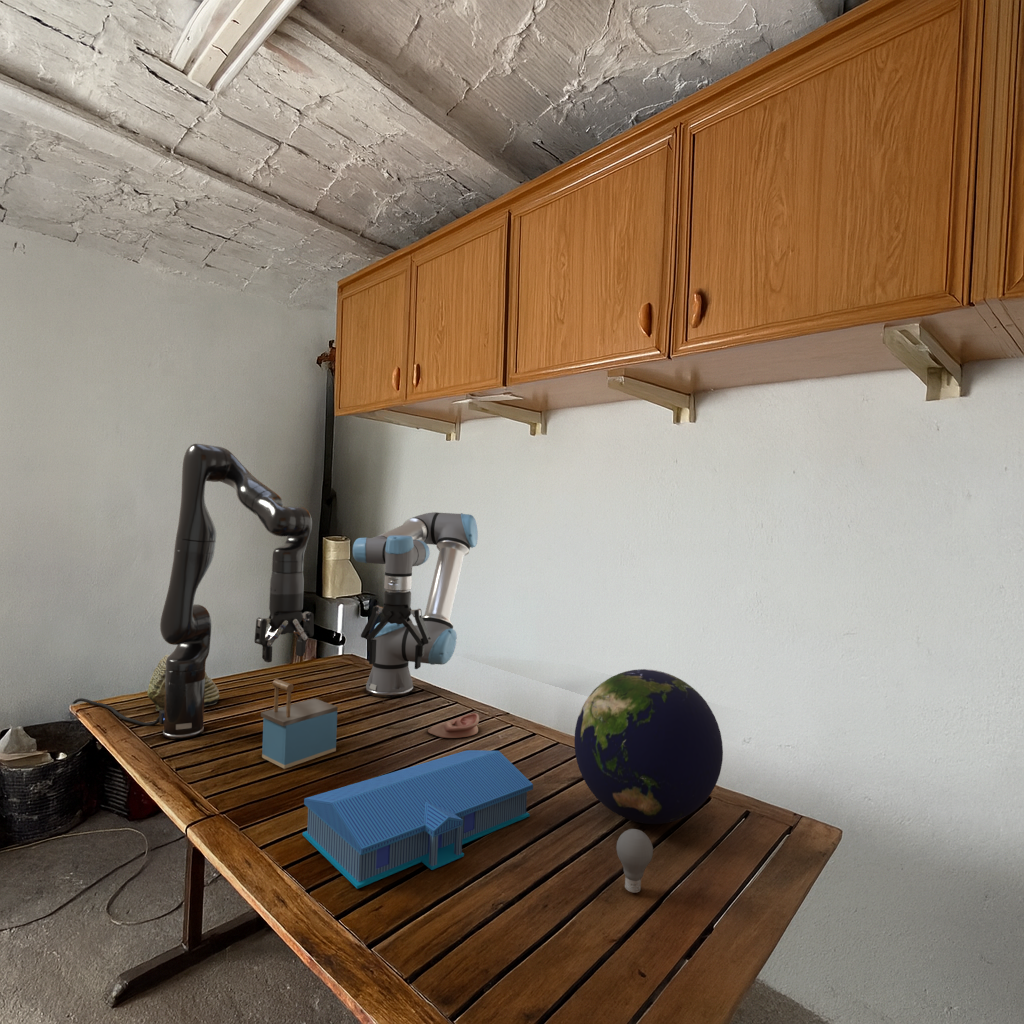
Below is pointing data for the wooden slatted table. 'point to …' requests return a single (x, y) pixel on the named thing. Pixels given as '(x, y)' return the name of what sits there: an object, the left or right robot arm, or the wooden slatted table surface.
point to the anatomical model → (457, 727)
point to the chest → (299, 740)
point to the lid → (295, 707)
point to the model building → (416, 814)
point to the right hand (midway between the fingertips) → (394, 665)
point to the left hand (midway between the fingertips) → (284, 658)
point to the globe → (648, 746)
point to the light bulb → (634, 857)
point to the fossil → (158, 687)
